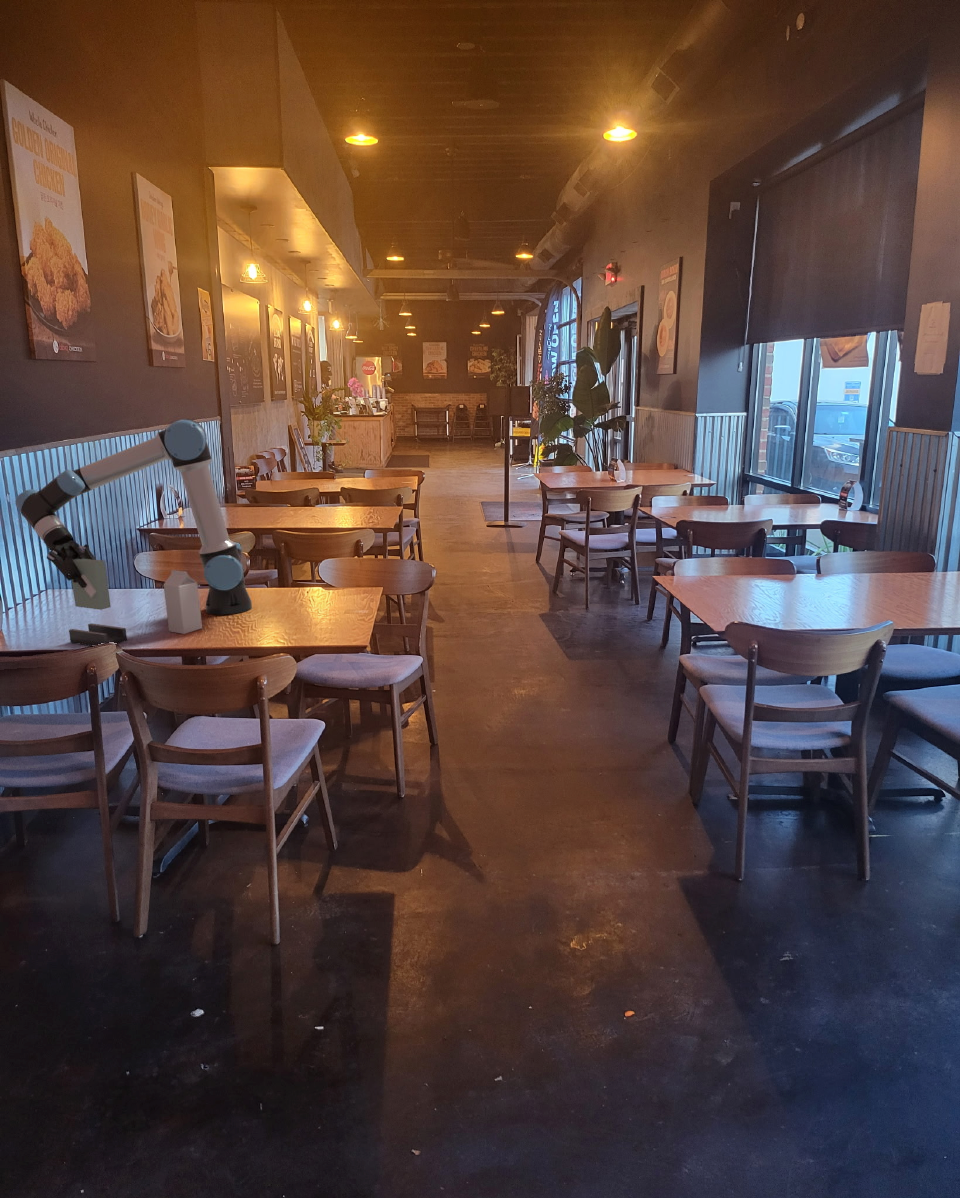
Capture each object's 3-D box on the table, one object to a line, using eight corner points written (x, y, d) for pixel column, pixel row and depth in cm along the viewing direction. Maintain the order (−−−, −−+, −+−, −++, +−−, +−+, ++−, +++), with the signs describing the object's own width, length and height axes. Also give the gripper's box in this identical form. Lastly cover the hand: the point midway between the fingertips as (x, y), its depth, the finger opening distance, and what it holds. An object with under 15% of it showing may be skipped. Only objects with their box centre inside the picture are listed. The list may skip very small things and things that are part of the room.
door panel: (110, 607, 252) (104, 560, 248) (100, 609, 249) (94, 563, 245) (85, 603, 257) (79, 558, 253) (75, 606, 254) (68, 560, 250)
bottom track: (127, 640, 255) (125, 628, 254) (105, 648, 249) (103, 635, 248) (93, 635, 262) (91, 623, 261) (70, 642, 255) (68, 629, 254)
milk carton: (184, 634, 261) (177, 574, 256) (168, 631, 264) (161, 572, 260) (202, 628, 266) (196, 569, 262) (187, 626, 270) (180, 567, 266)
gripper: (73, 538, 262) (118, 594, 259) (24, 547, 248) (70, 607, 245) (83, 521, 259) (128, 579, 255) (33, 530, 244) (80, 590, 241)
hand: (99, 592), depth 250 cm, fingers closed on door panel, 3 cm apart
